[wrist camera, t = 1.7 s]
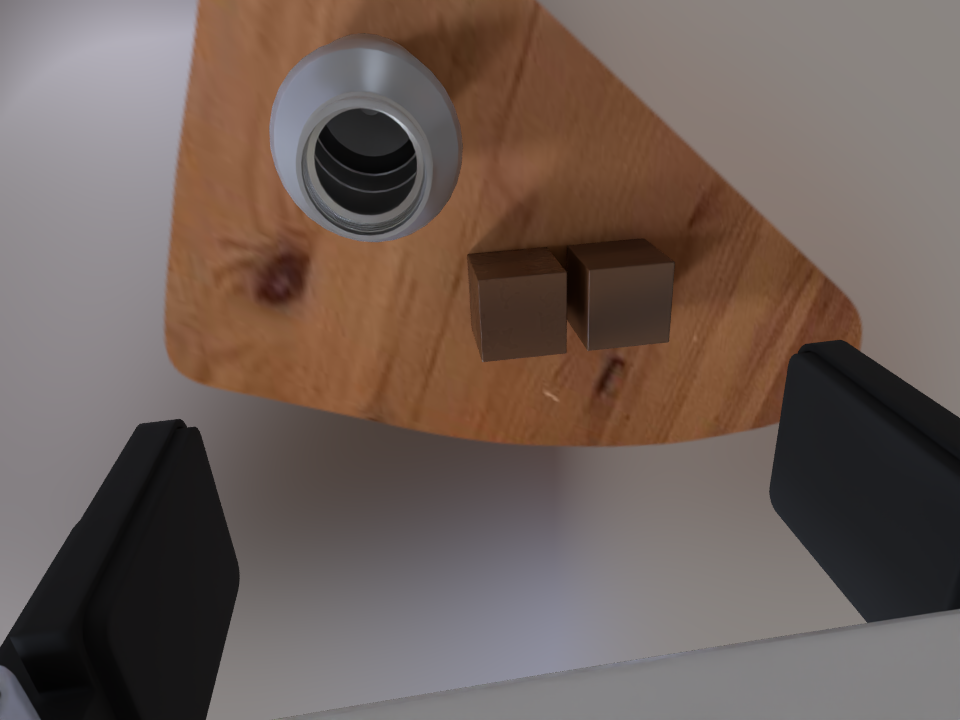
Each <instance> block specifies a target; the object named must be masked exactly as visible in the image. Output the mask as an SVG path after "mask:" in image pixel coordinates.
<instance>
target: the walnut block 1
mask: <svg viewBox="0 0 960 720" xmlns="http://www.w3.org/2000/svg"><path fill="white" fill-rule="evenodd" d="M467 260H468V276H469V293H470V309H471V325H472V331H473V334H474V337H475V340H476V344H477V347H478V350H479V353H480V356H481V359H482V362H488V361H497V360H507V359H516V358H526V357H535V356H544V355H554V354H563V353H566V342H567V272H566V271H565V270H564V268H563V267H562V266H561V265H560V263H559V262H558V261H557V259H556V258H555V257H554V256H553V254H552V253H551V252H550V251H549V249H548V248H547V247H544V248H533V249H522V250H511V251H499V252H488V253H477V254H468V255H467Z"/></svg>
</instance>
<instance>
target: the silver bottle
mask: <svg viewBox="0 0 960 720" xmlns="http://www.w3.org/2000/svg"><path fill="white" fill-rule="evenodd" d="M269 130H270V148H271V152H272V156H273V160H274V164H275V168H276V170H277V173H278V175H279V177H280V179H281V181H282V184H283V186H284V188H285V189H286V191H287V192H288V193H289V195H290V196H291V198H292V199H293V201H294V202H295V204H296V205H297V206H298V207H299V208H300V209H301V210H302V211H303V212H304V213H305V214H306V215H307V216H308V217H309V218H311V219H312V220H314V221H315V222H316V223H318V224H319V225H321V226H322V227H323V228H325V229H327V230H329V231H331V232H333V233H335V234H338V235H340V236H342V237H346V238H350V239H354V240H357V241H366V242H382V241H390V240H395V239H398V238H401V237H404V236H407V235H410V234H412V233H414V232H416V231H417V230H419V229H421V228H422V227H424V226H426V225H427V224H428V223H429V222H430V221H431V220H432V219H433V218H435V217H436V216H437V215H438V214H439V213H440V211H441V210H442V209H443V207H444V206H445V205H446V203H447V202H448V200H449V199H450V197H451V195H452V193H453V190H454V188H455V186H456V184H457V181H458V177H459V173H460V169H461V165H462V150H463V143H462V135H461V127H460V123H459V120H458V117H457V114H456V110H455V107H454V105H453V103H452V101H451V99H450V97H449V95H448V94H447V92H446V90H445V88H444V87H443V85H442V84H441V83H440V82H439V80H438V79H437V78H436V76H435V75H434V74H433V73H432V71H430V70H429V69H428V68H427V67H426V66H425V65H424V64H422V63H421V62H420V61H419V60H418V59H417V58H415V57H414V56H413V55H412V54H411V53H410V52H408V51H407V50H406V49H405V48H404V47H403V46H401V45H399V44H398V43H396V42H394V41H392V40H391V39H388V38H385V37H382V36H379V35H375V34H366V33H361V34H351V35H347V36H345V37H342V38H339V39H336V40H335V41H333V42H332V43H330V44H328V45H325V46H322V47H319V48H318V49H316V50H315V51H313V52H311V53H310V54H308V55H307V56H305V57H304V58H302V59H301V60H300V61H299V63H298V64H297V65H296V66H295V67H294V68H293V69H292V70H291V71H290V72H289V73H288V75H287V76H286V78H285V80H284V81H283V83H282V84H281V86H280V88H279V90H278V93H277V95H276V98H275V101H274V104H273V107H272V113H271V120H270V127H269Z"/></svg>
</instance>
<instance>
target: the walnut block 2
mask: <svg viewBox="0 0 960 720" xmlns="http://www.w3.org/2000/svg"><path fill="white" fill-rule="evenodd" d="M674 268H675V262H674V261H673V260H671V259H670V258H669V257H667V256H666V255H665V254H664V253H662V252H661V251H660V250H658V249H657V248H656V247H654V246H653V245H652V244H651V243H649V242H648V241H647V240H645V239H634V240H623V241H612V242H601V243H590V244H579V245H568V246H567V320H568V322H569V323H570V325H571V326H572V328H573V329H574V331H575V332H576V334H577V335H578V337H579V338H580V340H581V341H582V343H583V344H584V346H585V347H586V349H587V350H588V351H590V350H600V349H609V348H619V347H628V346H638V345H647V344H656V343H666V342H669V333H670V320H671V307H672V294H673V281H674Z"/></svg>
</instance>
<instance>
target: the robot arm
mask: <svg viewBox="0 0 960 720" xmlns="http://www.w3.org/2000/svg"><path fill="white" fill-rule="evenodd" d="M769 492H770V499H771V503H772V505H773V508H774V509H775V511H776V512H777V514H778V515H779V516H780V517H781V519H782V520H783V521H784V522H785V523H786V524H787V526H788V527H789V528H790V529H791V531H792V532H793V533H794V534H795V536H796V537H797V538H798V539H799V540H800V542H801V543H802V544H803V545H804V546H805V548H806V549H807V550H808V551H809V552H810V554H811V555H812V556H813V557H814V559H815V560H816V561H817V562H818V563H819V565H820V566H821V567H822V568H823V569H824V571H825V572H826V573H827V574H828V575H829V576H830V578H831V579H832V580H833V582H834V583H835V584H836V585H837V587H838V588H839V589H840V590H841V591H842V592H843V594H844V595H845V596H846V597H847V599H848V600H849V601H850V602H851V603H852V605H853V606H854V607H855V608H856V609H857V611H858V612H859V613H860V614H861V616H862V617H863V618H864V619H865V620H866V622H867V623H865V624H858V625H852V626H846V627H839V628H832V629H826V630H820V631H813V632H807V633H800V634H794V635H788V636H781V637H774V638H768V639H761V640H755V641H749V642H743V643H736V644H731V645H724V646H717V647H711V648H705V649H698V650H692V651H686V652H680V653H674V654H667V655H661V656H655V657H648V658H643V659H636V660H630V661H624V662H617V663H611V664H606V665H599V666H593V667H586V668H580V669H574V670H568V671H562V672H555V673H549V674H543V675H537V676H531V677H525V678H519V679H513V680H507V681H501V682H495V683H489V684H483V685H477V686H471V687H465V688H459V689H453V690H447V691H441V692H435V693H429V694H423V695H417V696H411V697H405V698H399V699H393V700H387V701H381V702H375V703H369V704H363V705H357V706H350V707H345V708H339V709H333V710H327V711H321V712H315V713H309V714H303V715H297V716H291V717H286V718H280V719H274V720H960V418H959V417H958V416H956V415H954V414H953V413H951V412H950V411H948V410H947V409H946V408H944V407H942V406H941V405H940V404H938V403H936V402H935V401H933V400H932V399H931V398H929V397H928V396H926V395H925V394H923V393H921V392H920V391H918V390H917V389H915V388H914V387H913V386H911V385H910V384H908V383H906V382H905V381H904V380H902V379H901V378H899V377H898V376H896V375H895V374H893V373H892V372H890V371H889V370H887V369H886V368H884V367H883V366H881V365H880V364H878V363H877V362H875V361H874V360H872V359H871V358H869V357H868V356H866V355H865V354H863V353H861V352H860V351H859V350H857V349H856V348H854V347H853V346H851V345H850V344H848V343H847V342H845V341H842V340H835V341H826V342H818V343H810V344H805V345H803V346H802V347H801V348H800V350H799V351H798V354H794V355H793V356H792V357H791V359H790V361H789V364H788V371H787V377H786V384H785V390H784V397H783V403H782V410H781V416H780V423H779V430H778V436H777V443H776V450H775V456H774V462H773V469H772V476H771V482H770V491H769ZM239 579H240V578H239V566H238V561H237V558H236V555H235V551H234V547H233V544H232V541H231V537H230V534H229V530H228V527H227V523H226V520H225V517H224V513H223V509H222V506H221V502H220V500H219V496H218V492H217V489H216V485H215V482H214V478H213V475H212V471H211V468H210V465H209V461H208V457H207V454H206V451H205V447H204V444H203V440H202V437H201V434H200V431H199V430H198V428H196V427H188V428H187V426H186V424H185V423H184V421H182V420H181V419H175V420H167V421H159V422H150V423H143V424H139V425H138V426H137V427H136V429H135V431H134V432H133V434H132V436H131V437H130V439H129V441H128V442H127V444H126V446H125V447H124V449H123V451H122V452H121V454H120V456H119V457H118V459H117V461H116V462H115V464H114V465H113V467H112V469H111V471H110V472H109V474H108V475H107V477H106V479H105V480H104V482H103V484H102V485H101V487H100V488H99V490H98V492H97V493H96V495H95V497H94V498H93V500H92V502H91V503H90V505H89V507H88V508H87V510H86V512H85V513H84V515H83V517H82V518H81V520H80V521H79V522H78V523H77V524H76V525H75V527H74V528H73V529H72V531H71V532H70V534H69V536H68V537H67V539H66V541H65V542H64V544H63V546H62V547H61V549H60V550H59V552H58V554H57V555H56V557H55V559H54V560H53V562H52V563H51V565H50V567H49V568H48V570H47V572H46V573H45V575H44V577H43V578H42V580H41V582H40V583H39V585H38V586H37V588H36V590H35V591H34V593H33V595H32V596H31V598H30V599H29V601H28V603H27V605H26V606H25V608H24V609H23V611H22V613H21V614H20V616H19V617H18V619H17V621H16V622H15V624H14V626H13V627H12V629H11V631H10V632H9V634H8V635H7V637H6V639H5V640H4V642H3V644H2V645H1V647H0V720H206V717H207V713H208V709H209V705H210V701H211V697H212V693H213V689H214V685H215V681H216V676H217V673H218V669H219V665H220V661H221V657H222V653H223V648H224V644H225V641H226V637H227V633H228V629H229V625H230V621H231V617H232V613H233V609H234V605H235V601H236V597H237V592H238V587H239Z"/></svg>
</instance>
